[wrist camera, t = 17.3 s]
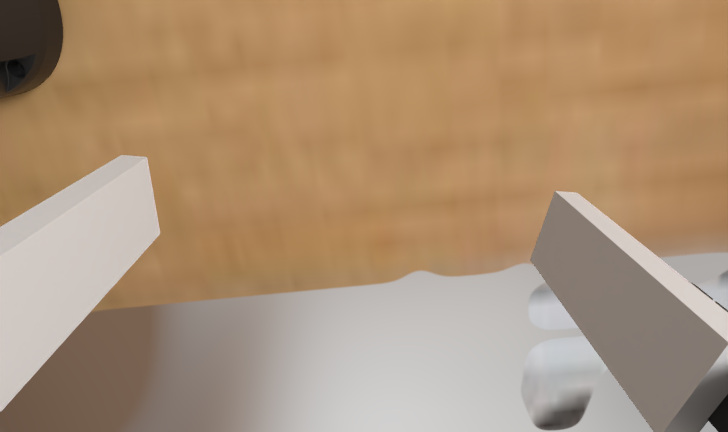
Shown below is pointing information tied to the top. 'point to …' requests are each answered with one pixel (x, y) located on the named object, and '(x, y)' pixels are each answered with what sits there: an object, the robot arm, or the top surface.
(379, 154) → the top surface
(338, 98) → the top surface
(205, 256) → the top surface
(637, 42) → the top surface
